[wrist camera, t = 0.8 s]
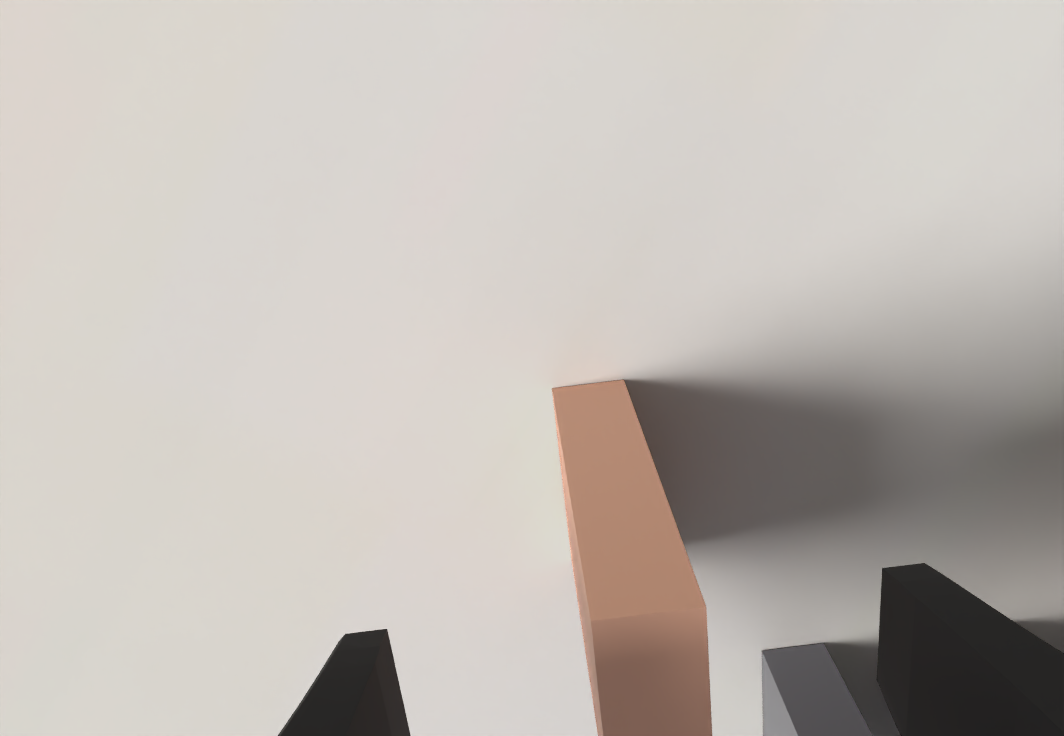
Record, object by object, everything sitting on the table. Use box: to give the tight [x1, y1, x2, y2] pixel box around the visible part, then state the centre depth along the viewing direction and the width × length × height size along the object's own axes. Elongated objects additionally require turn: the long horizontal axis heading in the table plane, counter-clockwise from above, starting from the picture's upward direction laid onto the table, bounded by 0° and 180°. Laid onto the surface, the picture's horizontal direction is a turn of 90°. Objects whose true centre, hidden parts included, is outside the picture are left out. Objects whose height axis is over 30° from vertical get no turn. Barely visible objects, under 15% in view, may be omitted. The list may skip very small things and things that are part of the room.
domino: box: [552, 380, 712, 736], centre depth 15 cm, size 4×1×7 cm, turn 7°
